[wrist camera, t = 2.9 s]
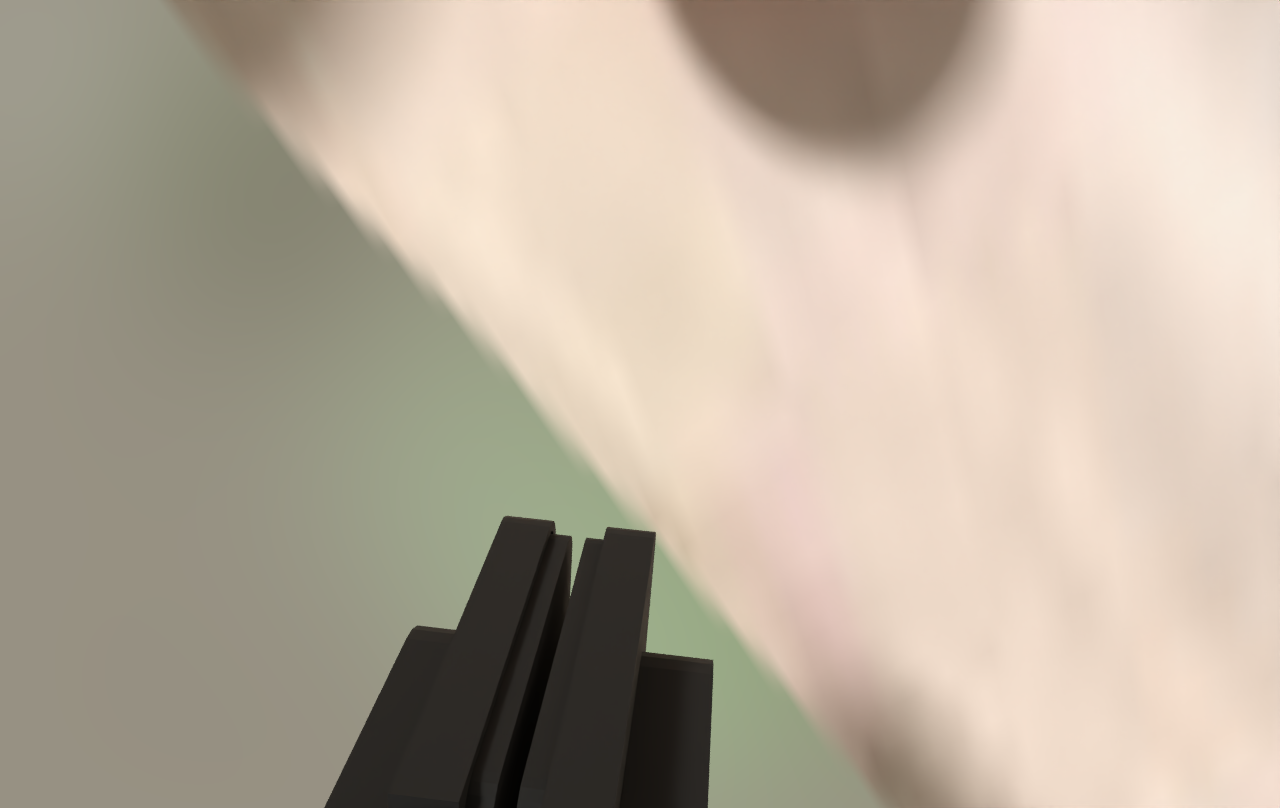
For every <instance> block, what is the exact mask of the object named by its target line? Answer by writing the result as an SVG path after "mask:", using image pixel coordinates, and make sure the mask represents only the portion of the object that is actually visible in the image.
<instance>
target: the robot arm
mask: <svg viewBox="0 0 1280 808" xmlns="http://www.w3.org/2000/svg"><path fill="white" fill-rule="evenodd" d="M555 530H556V529H555V523H554V521H549V520H539V519H531V518H521V517H512V516H505V517H504V518H503V520H502V522H501V524H500V526H499V529H498V531H497V534H496V536H495V539H494V541H493V543H492V545H491V548H490V550H489V553H488V555H487V557H486V560H485V562H484V564H483V567H482V569H481V572H480V574H479V577H478V579H477V581H476V584H475V586H474V588H473V591H472V593H471V595H470V598H469V600H468V603H467V605H466V607H465V610H464V612H463V615H462V617H461V619H460V622H459V624H458V627H457V629H456V630H451V629H442V628H433V627H425V626H416V627H415V628H413V629H412V630H411V632H410V634H409V635H408V637H407V638H406V641H405V643H404V645H403V647H402V649H401V651H400V653H399V655H398V657H397V659H396V661H395V663H394V665H393V668H392V669H391V671H390V673H389V676H388V678H387V680H386V682H385V684H384V686H383V688H382V690H381V692H380V694H379V696H378V698H377V700H376V703H375V704H374V707H373V709H372V711H371V713H370V715H369V717H368V719H367V721H366V723H365V725H364V727H363V729H362V731H361V734H360V735H359V737H358V740H357V742H356V744H355V746H354V748H353V750H352V752H351V754H350V756H349V758H348V760H347V762H346V764H345V766H344V768H343V770H342V773H341V775H340V777H339V779H338V781H337V783H336V785H335V787H334V789H333V791H332V793H331V795H330V797H329V799H328V801H327V803H326V806H325V808H708V786H709V761H710V737H711V713H712V689H713V660H709V659H700V658H691V657H683V656H674V655H666V654H657V653H649V652H646V641H647V629H648V618H649V607H650V596H651V585H652V574H653V562H654V551H655V539H656V532H649V531H640V530H631V529H622V528H612V527H607V529H606V532H605V536H604V540H602V539H593V538H586V540H585V543H584V547H583V551H582V555H581V558H580V562H579V567H578V570H577V574H576V577H575V581H574V585H573V589H572V593H571V596H570V584H571V563H572V537H571V536H566V535H557V534H555V533H556V531H555Z"/></svg>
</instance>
